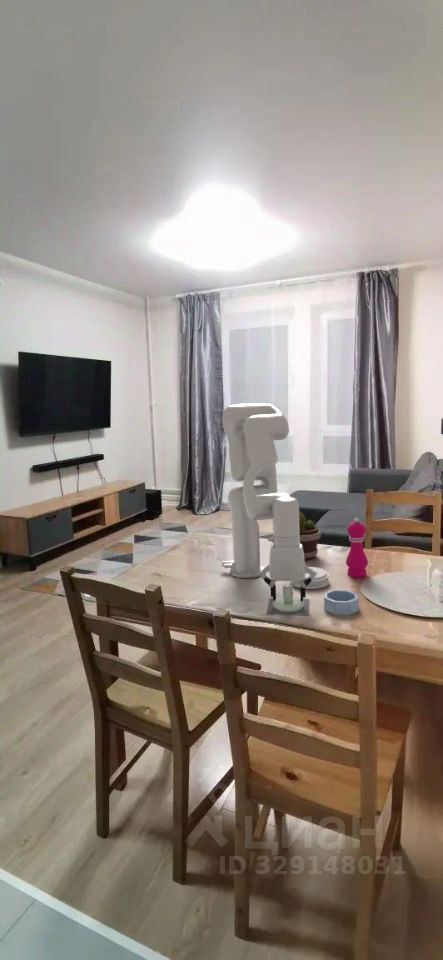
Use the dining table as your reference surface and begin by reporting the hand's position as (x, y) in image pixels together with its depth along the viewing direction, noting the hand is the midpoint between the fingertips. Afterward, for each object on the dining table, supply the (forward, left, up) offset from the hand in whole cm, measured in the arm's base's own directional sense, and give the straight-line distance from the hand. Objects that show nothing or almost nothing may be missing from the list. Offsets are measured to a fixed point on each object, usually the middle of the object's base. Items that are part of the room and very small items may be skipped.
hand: (288, 599), depth 142 cm
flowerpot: (+3, +50, -3) cm, 50 cm away
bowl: (+15, 0, -3) cm, 15 cm away
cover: (0, 0, -2) cm, 2 cm away
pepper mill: (+22, +30, -3) cm, 37 cm away
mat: (0, 0, -3) cm, 3 cm away
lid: (+6, +20, -3) cm, 21 cm away
